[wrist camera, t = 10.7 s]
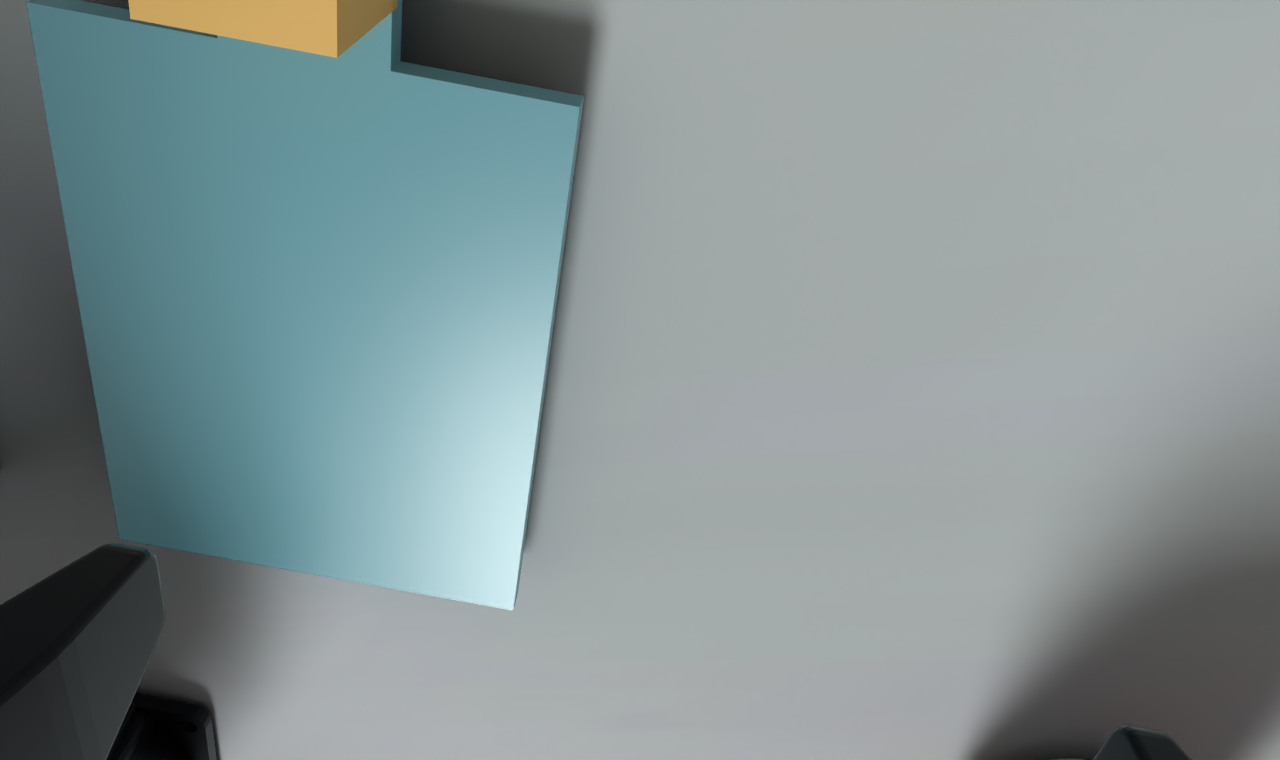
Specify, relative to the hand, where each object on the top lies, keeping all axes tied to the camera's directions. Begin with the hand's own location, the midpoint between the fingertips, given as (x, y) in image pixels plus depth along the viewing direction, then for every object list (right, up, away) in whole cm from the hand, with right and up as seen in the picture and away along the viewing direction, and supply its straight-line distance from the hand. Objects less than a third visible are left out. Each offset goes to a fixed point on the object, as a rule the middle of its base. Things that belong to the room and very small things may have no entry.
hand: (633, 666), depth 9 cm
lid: (-6, +5, +12) cm, 14 cm away
